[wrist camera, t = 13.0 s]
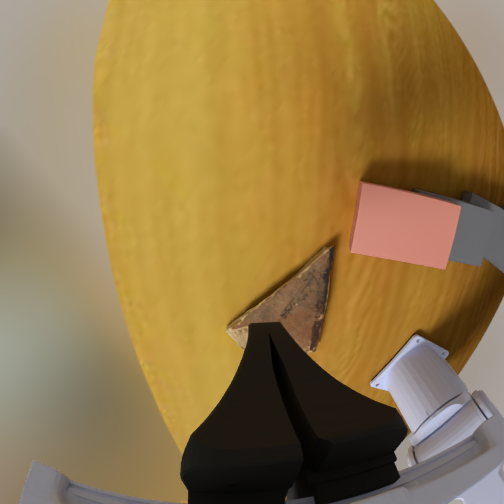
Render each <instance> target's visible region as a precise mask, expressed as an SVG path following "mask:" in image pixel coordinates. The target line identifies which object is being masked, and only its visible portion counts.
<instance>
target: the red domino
mask: <svg viewBox="0 0 504 504" xmlns="http://www.w3.org/2000/svg"><path fill="white" fill-rule="evenodd" d="M460 210H461V206H460V205H457V204H455V203H453V202H450V201H447V200H443V199H439V198H435V197H432V196H428V195H424V194H420V193H415V192H411V191H407V190H403V189H398V188H393V187H389V186H384V185H379V184H374V183H369V182H364V181H359V188H358V195H357V201H356V208H355V214H354V219H353V225H352V231H351V236H350V241H349V248H350V252H351V253H357V254H363V255H368V256H374V257H380V258H385V259H391V260H396V261H402V262H407V263H413V264H418V265H423V266H429V267H434V268H439V269H445V268H446V265H447V262H448V258H449V255H450V252H451V248H452V244H453V240H454V237H455V233H456V228H457V224H458V220H459V215H460Z"/></svg>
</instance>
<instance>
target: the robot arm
mask: <svg viewBox="0 0 504 504" xmlns="http://www.w3.org/2000/svg"><path fill="white" fill-rule="evenodd" d="M448 355H449V352H448V351H447V350H445V349H444V348H442V347H440V346H438V345H436V344H434V343H433V342H431V341H429V340H427V339H425V338H424V337H422V336H420V335H418V334H415V335H413V336H412V338H411V339H410V340H409V341H408V342H407V344H406V345H405V346H404V347H403V348H402V349H401V350H400V352H399V353H398V354H397V355H396V356H395V357H394V358H393V359H392V360H391V362H390V363H389V364H388V365H387V366H386V367H385V368H384V369H383V370H382V371H381V372H380V373H379V374H378V375H377V376H376V377H375V378H374V379H373V380H372V381H371V383H370V385H371V387H375V388H379V389H383V390H387V391H389V392H390V393H391V395H392V397H393V399H394V400H395V402H396V404H397V406H398V408H399V409H400V411H401V413H402V415H403V417H404V419H405V420H406V422H407V424H408V426H409V428H410V430H411V431H412V433H413V436H412V437H410V441H411V443H412V445H411V446H410V447H409V449H408V455H407V461H408V465H409V467H408V468H406V469H404V470H401V471H399V472H398V470H397V468H396V465H395V463H394V462H395V461H396V460H397V458H396V455H395V453H394V451H395V450H396V448H397V447H398V446H399V445H400V443H401V442H402V441H403V440H404V438H405V437H406V435H407V432H408V428H407V427H406V425H405V423H404V421H403V419H402V417H401V415H400V414H399V413H398V411H397V410H396V408H393V407H390V406H387V405H385V404H382V403H379V402H377V401H374V400H372V399H370V398H368V397H366V396H364V395H362V394H360V393H358V392H356V391H354V390H352V389H351V388H349V387H347V386H346V385H344V384H343V383H341V382H339V381H338V380H336V379H335V378H334V377H332V376H331V375H330V374H328V373H327V372H326V371H325V370H323V369H322V368H321V367H320V366H319V365H318V364H317V363H316V362H315V361H313V360H312V359H311V358H310V357H309V356H308V355H307V354H306V353H305V351H304V350H303V349H302V348H301V347H300V346H299V345H298V344H297V343H296V341H295V340H294V339H293V338H292V337H291V335H290V334H289V333H288V332H287V330H286V329H285V328H284V326H283V325H282V324H281V323H280V322H263V323H250V324H249V325H248V339H247V344H246V347H245V351H244V354H243V357H242V360H241V362H240V365H239V367H238V370H237V372H236V374H235V376H234V378H233V380H232V382H231V384H230V386H229V387H228V389H227V391H226V392H225V394H224V396H223V397H222V399H221V400H220V402H219V403H218V404H217V406H216V407H215V408H214V410H213V411H212V412H211V414H210V415H209V416H208V417H207V418H206V420H205V421H204V422H203V423H202V424H201V425H200V426H199V427H198V428H197V429H196V430H195V431H194V432H193V433H192V434H191V436H190V438H189V441H188V443H187V445H186V448H185V450H184V453H183V457H182V461H181V472H180V476H181V480H182V481H183V483H184V485H185V486H186V488H187V490H188V504H448V503H449V502H451V501H453V500H454V499H462V500H463V502H464V503H465V504H504V472H503V470H502V466H503V464H504V418H503V417H502V416H501V414H500V413H499V411H498V410H497V409H496V407H495V406H494V405H493V403H492V402H491V401H490V399H489V398H488V397H487V396H486V394H485V393H484V392H483V391H482V390H481V391H477V390H476V391H474V392H473V393H472V395H471V394H470V393H469V392H468V389H467V387H466V385H465V384H464V383H463V381H462V380H461V379H460V377H459V376H458V375H457V373H456V372H455V371H454V370H453V368H452V367H451V366H450V365H449V364H448V362H447V361H446V360H445V358H446V357H447V356H448ZM286 495H287V501H285V497H286ZM19 504H185V503H174V502H165V501H157V500H150V499H144V498H138V497H133V496H128V495H123V494H119V493H115V492H110V491H106V490H103V489H99V488H95V487H92V486H89V485H85V484H82V483H79V482H76V481H73V480H70V479H69V478H68V477H67V476H66V475H65V474H64V473H62V472H61V471H59V470H57V469H55V468H53V467H50V466H48V465H45V464H43V463H41V462H38V461H36V460H33V462H32V464H31V467H30V470H29V473H28V476H27V479H26V482H25V485H24V488H23V491H22V495H21V498H20V502H19Z"/></svg>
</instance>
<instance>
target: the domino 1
mask: <svg viewBox="0 0 504 504" xmlns="http://www.w3.org/2000/svg"><path fill="white" fill-rule="evenodd" d="M413 192H415V193H420V194H424V195H428V196H432V197H435V198H439V199H443V200H447V201H450V202H453V203H455V204H457V205H460V206H461V210H460V215H459V220H458V224H457V228H456V233H455V237H454V240H453V244H452V248H451V252H450V255H449V258H448V260H449V261H455V262H460V263H465V264H470V265H475V266H480V267H481V264H482V261H483V258H484V254H485V251H486V247H487V243H488V240H489V236H490V232H491V227H492V223H493V218H494V214H495V212H494V211H491V210H489V209H487V208H485V207H481V206H478V205H475V204H472V203H468V202H465V201H461V200H458V199H454V198H451V197H447V196H443V195H440V194H436V193H432V192H428V191H424V190H420V189H415V188H413Z"/></svg>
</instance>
